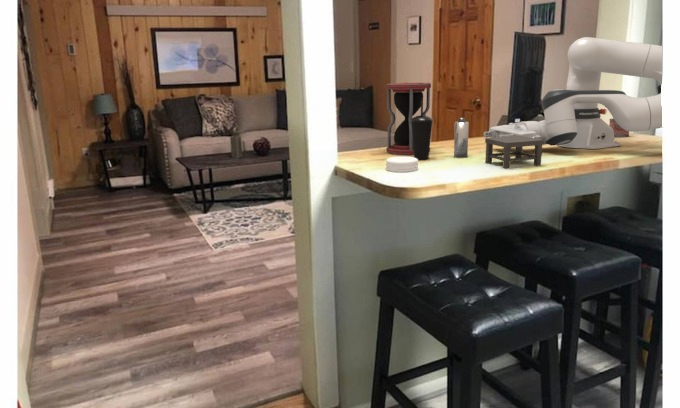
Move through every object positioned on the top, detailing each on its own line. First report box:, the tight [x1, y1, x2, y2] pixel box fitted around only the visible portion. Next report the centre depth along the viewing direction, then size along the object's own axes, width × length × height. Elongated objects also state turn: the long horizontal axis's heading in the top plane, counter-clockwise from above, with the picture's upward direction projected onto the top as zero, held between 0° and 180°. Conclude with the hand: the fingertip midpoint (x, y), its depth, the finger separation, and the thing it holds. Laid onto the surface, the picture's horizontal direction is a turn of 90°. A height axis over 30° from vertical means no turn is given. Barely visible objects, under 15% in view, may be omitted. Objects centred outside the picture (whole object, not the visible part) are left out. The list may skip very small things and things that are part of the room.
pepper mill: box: [453, 117, 470, 159], centre depth 180 cm, size 5×5×14 cm
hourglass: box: [386, 82, 432, 156], centre depth 192 cm, size 16×16×25 cm
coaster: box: [385, 156, 419, 173], centre depth 163 cm, size 10×10×4 cm
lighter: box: [608, 117, 630, 139], centre depth 214 cm, size 8×3×10 cm, turn 80°
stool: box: [484, 136, 544, 170], centre depth 165 cm, size 13×12×8 cm
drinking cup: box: [410, 99, 434, 161], centre depth 178 cm, size 8×8×20 cm
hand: (491, 136), depth 183 cm, fingers open, 8 cm apart
